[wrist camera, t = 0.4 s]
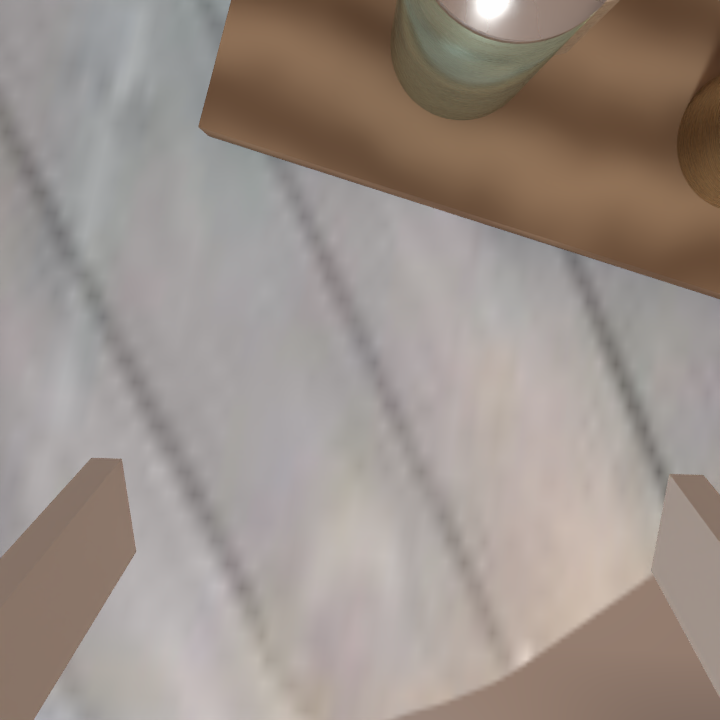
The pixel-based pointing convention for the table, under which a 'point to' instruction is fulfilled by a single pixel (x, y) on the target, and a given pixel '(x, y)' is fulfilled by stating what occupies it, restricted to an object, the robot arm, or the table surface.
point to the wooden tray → (491, 127)
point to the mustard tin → (702, 143)
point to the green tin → (481, 48)
